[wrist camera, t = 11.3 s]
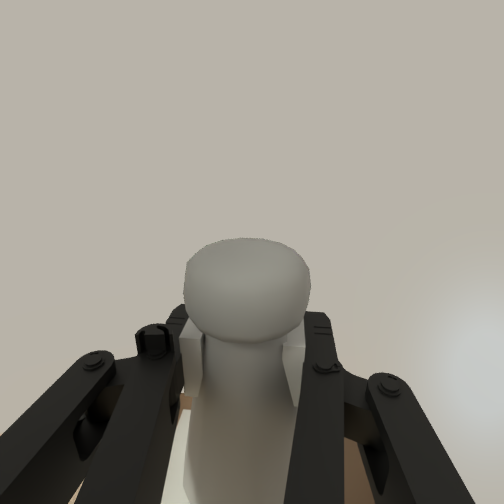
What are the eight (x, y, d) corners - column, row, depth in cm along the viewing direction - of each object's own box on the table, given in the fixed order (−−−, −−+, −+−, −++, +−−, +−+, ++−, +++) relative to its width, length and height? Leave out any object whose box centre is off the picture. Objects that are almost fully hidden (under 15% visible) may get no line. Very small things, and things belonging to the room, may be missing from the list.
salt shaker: (248, 422, 19) (249, 214, 14) (330, 495, 16) (371, 249, 11) (162, 497, 16) (122, 249, 11) (244, 617, 12) (244, 323, 7)
